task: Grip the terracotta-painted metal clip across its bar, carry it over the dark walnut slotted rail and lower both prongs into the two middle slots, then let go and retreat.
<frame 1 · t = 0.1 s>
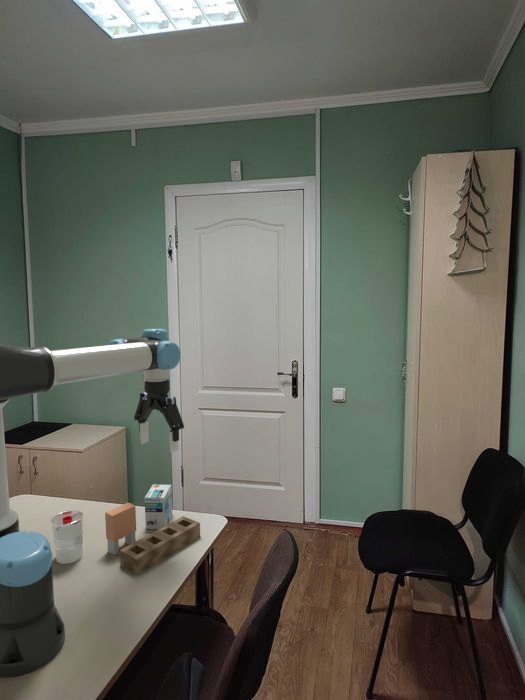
hand: (159, 446, 139), 28 cm above the table, fingers open, 13 cm apart
clip: (122, 547, 133), on the table
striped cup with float: (69, 557, 128), on the table
rail: (162, 550, 132), on the table
light bulb box: (159, 522, 149), on the table
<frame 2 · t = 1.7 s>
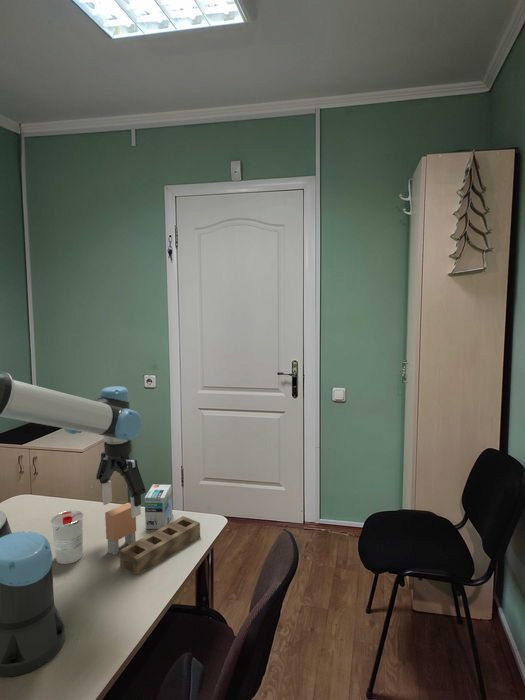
hand: (121, 509, 132), 12 cm above the table, fingers open, 13 cm apart
nothing on the table moved.
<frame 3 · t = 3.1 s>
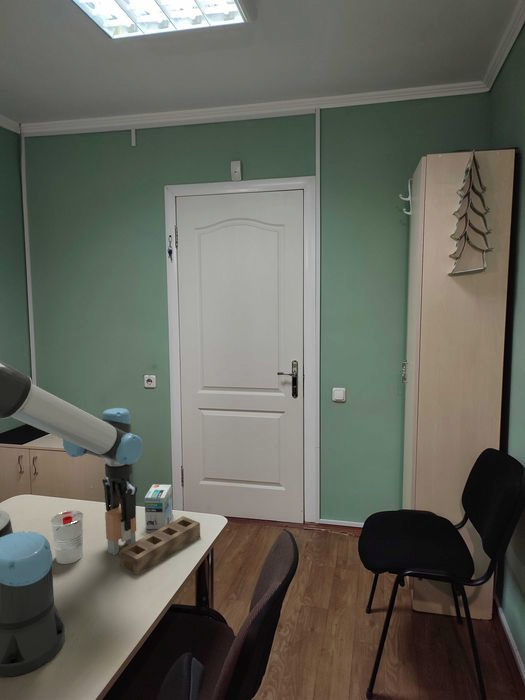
hand: (121, 537, 133), 3 cm above the table, fingers closed on clip, 3 cm apart
clip: (122, 547, 133), on the table, touching gripper
everything else where it was.
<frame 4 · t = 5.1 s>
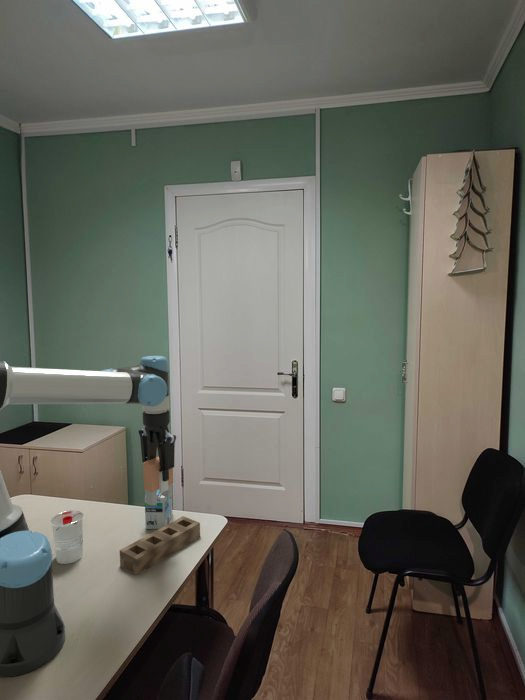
hand: (158, 489, 130), 19 cm above the table, fingers closed on clip, 3 cm apart
clip: (159, 499, 130), point 16 cm above the table, touching gripper
everything else where it was.
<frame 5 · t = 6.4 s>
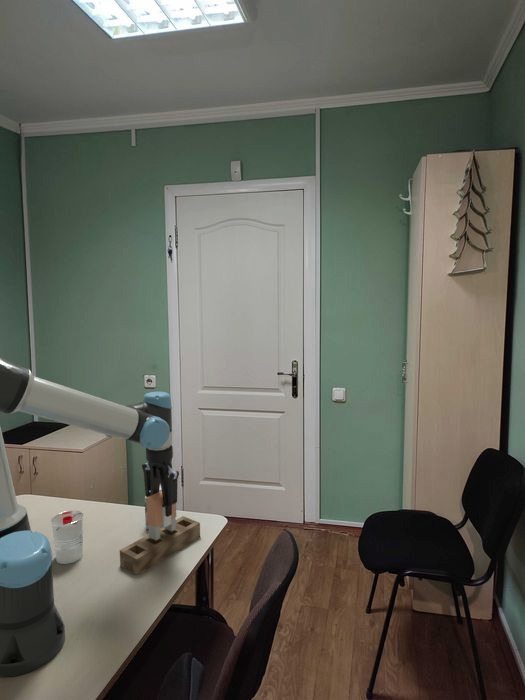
hand: (162, 523, 131), 8 cm above the table, fingers closed on clip, 3 cm apart
clip: (162, 533, 131), point 5 cm above the table, touching gripper
everything else where it was.
when the fingers open (6 cm above the table, at t = 7.1 s): clip drops 2 cm, resting on rail.
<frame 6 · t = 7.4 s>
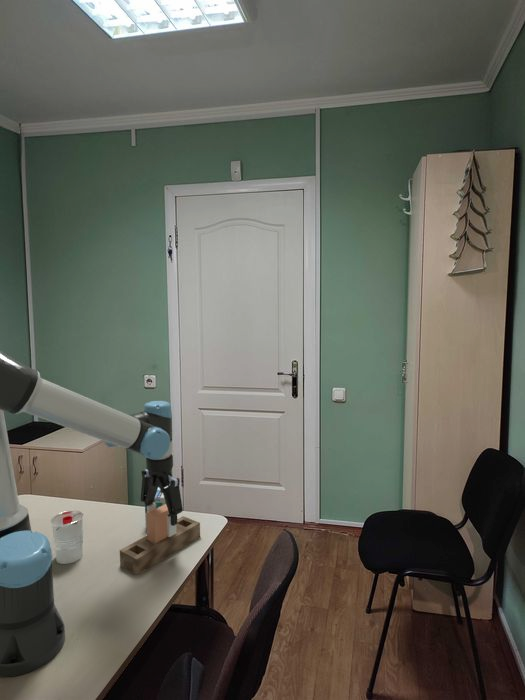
hand: (161, 530, 131), 6 cm above the table, fingers open, 8 cm apart
clip: (162, 548, 132), resting on rail
everything else where it was.
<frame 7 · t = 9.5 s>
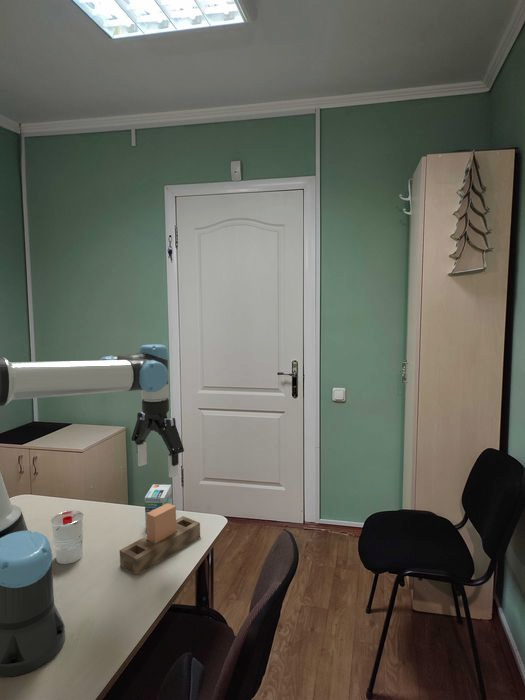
hand: (157, 470, 130), 24 cm above the table, fingers open, 13 cm apart
nothing on the table moved.
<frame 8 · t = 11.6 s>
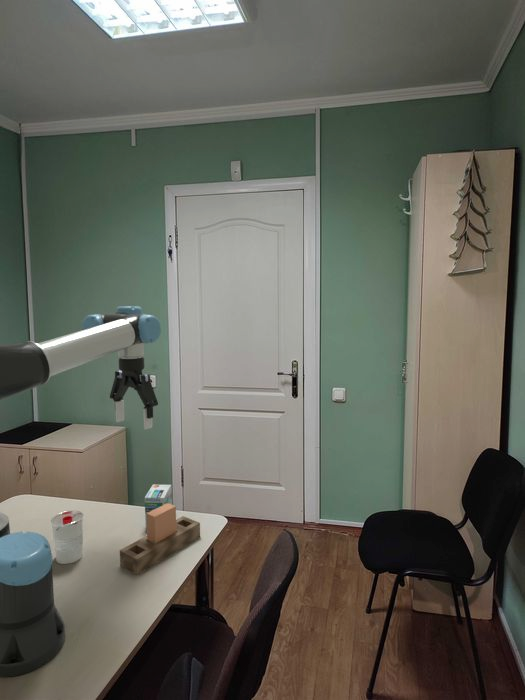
hand: (133, 424, 139), 35 cm above the table, fingers open, 13 cm apart
nothing on the table moved.
at the end: clip 0.0 cm off-centre on the rail, point 0.5 cm above the rail's base; clip tilted 0°; the gripper is holding nothing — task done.
